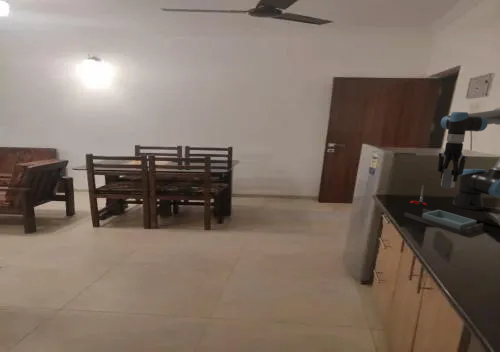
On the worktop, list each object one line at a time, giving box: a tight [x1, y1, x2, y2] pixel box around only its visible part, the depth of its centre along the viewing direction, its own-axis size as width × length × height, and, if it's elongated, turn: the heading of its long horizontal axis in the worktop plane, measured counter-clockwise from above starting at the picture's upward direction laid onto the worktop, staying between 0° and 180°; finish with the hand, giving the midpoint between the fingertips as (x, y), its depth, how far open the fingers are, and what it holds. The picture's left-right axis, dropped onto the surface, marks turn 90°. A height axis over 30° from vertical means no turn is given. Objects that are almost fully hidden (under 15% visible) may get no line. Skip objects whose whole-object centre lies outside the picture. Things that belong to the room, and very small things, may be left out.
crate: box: [421, 209, 478, 230], centre depth 152 cm, size 14×18×4 cm
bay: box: [403, 208, 484, 237], centre depth 155 cm, size 17×29×4 cm, turn 29°
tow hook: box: [409, 184, 428, 206], centre depth 190 cm, size 8×13×9 cm
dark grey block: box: [440, 167, 454, 190], centre depth 165 cm, size 4×4×10 cm
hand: (447, 186), depth 165 cm, fingers closed on dark grey block, 4 cm apart
